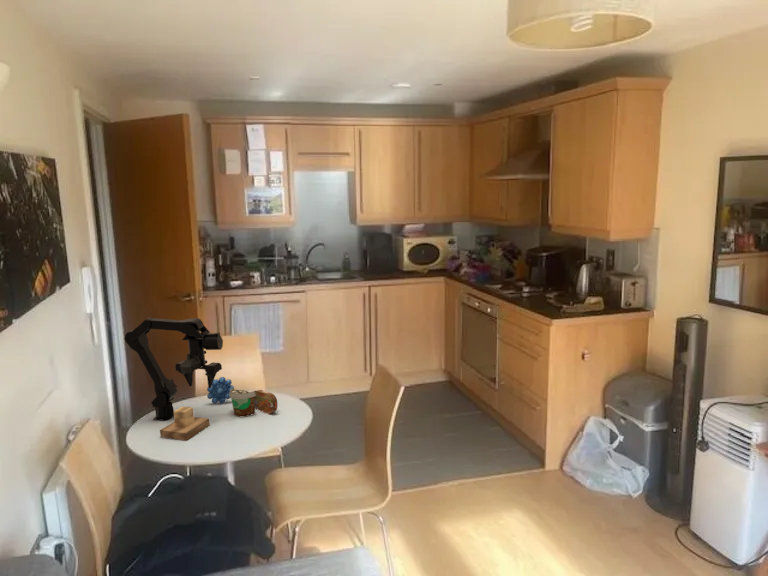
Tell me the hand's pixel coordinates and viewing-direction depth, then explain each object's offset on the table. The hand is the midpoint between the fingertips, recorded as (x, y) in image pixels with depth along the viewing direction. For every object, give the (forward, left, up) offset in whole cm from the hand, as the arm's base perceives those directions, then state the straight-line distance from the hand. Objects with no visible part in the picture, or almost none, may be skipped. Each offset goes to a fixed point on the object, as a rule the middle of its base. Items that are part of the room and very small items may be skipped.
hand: (200, 387), depth 235 cm
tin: (+22, +12, -13) cm, 28 cm away
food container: (+14, +6, -13) cm, 20 cm away
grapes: (-2, +16, -13) cm, 21 cm away
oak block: (+2, -14, -10) cm, 17 cm away
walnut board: (+2, -14, -13) cm, 19 cm away
